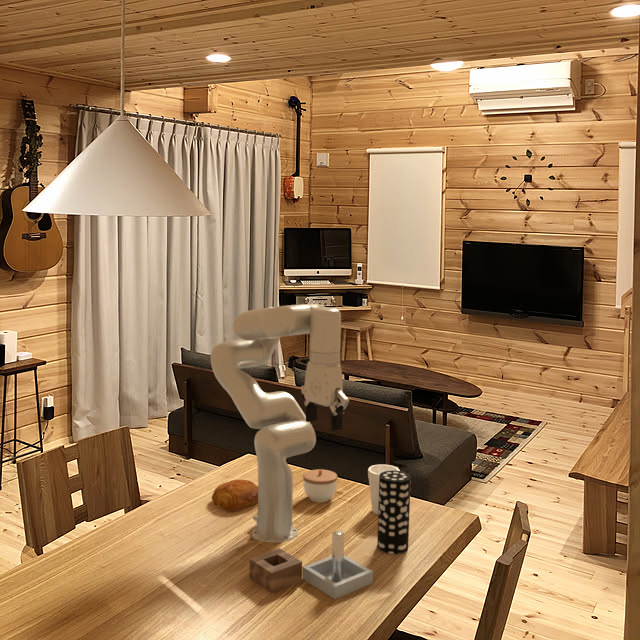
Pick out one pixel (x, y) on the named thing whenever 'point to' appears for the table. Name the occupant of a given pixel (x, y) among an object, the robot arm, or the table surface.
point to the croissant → (235, 495)
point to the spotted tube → (393, 512)
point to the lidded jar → (320, 484)
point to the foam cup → (377, 483)
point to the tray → (352, 581)
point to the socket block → (275, 570)
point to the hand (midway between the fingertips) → (323, 425)
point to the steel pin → (337, 556)
